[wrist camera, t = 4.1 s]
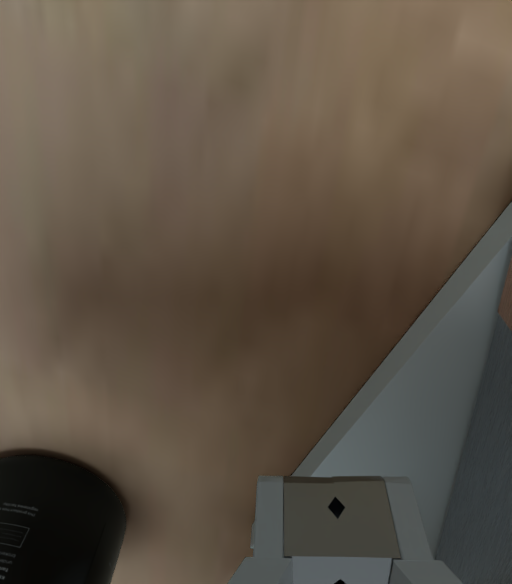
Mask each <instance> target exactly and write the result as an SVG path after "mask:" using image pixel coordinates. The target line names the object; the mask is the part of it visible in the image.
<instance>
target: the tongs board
mask: <svg viewBox="0 0 512 584" xmlns="http://www.w3.org/2000/svg"><path fill="white" fill-rule="evenodd" d="M511 257H512V202H511V203H510V204H509V205H508V207H507V208H506V209H505V210H504V212H503V213H502V214H501V215H500V217H499V218H498V219H497V220H496V222H495V223H494V224H493V225H492V227H491V228H490V229H489V230H488V232H487V233H486V234H485V235H484V236H483V238H482V239H481V240H480V241H479V243H478V244H477V245H476V246H475V248H474V249H473V250H472V251H471V253H470V254H469V255H468V256H467V258H466V259H465V260H464V261H463V263H462V264H461V265H460V266H459V268H458V269H457V270H456V271H455V273H454V274H453V275H452V276H451V278H450V279H449V280H448V281H447V283H446V284H445V285H444V286H443V288H442V289H441V290H440V291H439V292H438V294H437V295H436V296H435V297H434V299H433V300H432V301H431V302H430V304H429V305H428V306H427V307H426V309H425V310H424V311H423V312H422V314H421V315H420V316H419V317H418V319H417V320H416V321H415V322H414V324H413V325H412V326H411V327H410V329H409V330H408V331H407V332H406V334H405V335H404V336H403V337H402V339H401V340H400V341H399V342H398V344H397V345H396V346H395V347H394V348H393V350H392V351H391V352H390V353H389V355H388V356H387V357H386V358H385V360H384V361H383V362H382V363H381V365H380V366H379V367H378V368H377V370H376V371H375V372H374V373H373V375H372V376H371V377H370V378H369V380H368V381H367V382H366V383H365V385H364V386H363V387H362V388H361V390H360V391H359V392H358V393H357V395H356V396H355V397H354V398H353V400H352V401H351V402H350V403H349V404H348V406H347V407H346V408H345V409H344V411H343V412H342V413H341V414H340V416H339V417H338V418H337V419H336V421H335V422H334V423H333V424H332V426H331V427H330V428H329V429H328V431H327V432H326V433H325V434H324V436H323V437H322V438H321V439H320V441H319V442H318V443H317V444H316V446H315V447H314V448H313V449H312V451H311V452H310V453H309V454H308V456H307V457H306V458H305V459H304V460H303V462H302V463H301V464H300V465H299V467H298V468H297V469H296V470H295V472H294V473H293V474H292V475H291V476H301V477H332V476H381V477H399V476H407V477H408V478H409V479H410V480H411V482H412V485H413V489H414V492H415V496H416V499H417V503H418V506H419V510H420V513H421V517H422V520H423V524H424V527H425V531H426V535H427V538H428V542H429V545H430V549H431V552H432V556H433V559H434V560H435V558H436V554H437V550H438V546H439V543H440V539H441V535H442V531H443V527H444V523H445V519H446V516H447V512H448V508H449V504H450V500H451V496H452V492H453V489H454V485H455V481H456V477H457V473H458V469H459V465H460V462H461V458H462V454H463V450H464V446H465V442H466V438H467V435H468V431H469V427H470V423H471V419H472V415H473V412H474V408H475V404H476V400H477V396H478V392H479V388H480V385H481V381H482V377H483V373H484V369H485V365H486V361H487V358H488V354H489V350H490V346H491V342H492V338H493V334H494V331H495V327H496V323H497V319H498V315H499V313H498V312H497V311H498V307H499V304H500V300H501V296H502V292H503V288H504V284H505V280H506V276H507V272H508V269H509V265H510V261H511ZM254 529H255V521H254V523H253V524H252V530H251V544H250V548H252V549H253V548H254Z"/></svg>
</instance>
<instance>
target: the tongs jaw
mask: <svg viewBox="0 0 512 584" xmlns="http://www.w3.org/2000/svg"><path fill="white" fill-rule="evenodd" d="M497 312H498V313H499V315H498V319H497V323H496V327H495V331H494V334H493V338H492V342H491V346H490V350H489V354H488V358H487V361H486V365H485V369H484V373H483V377H482V381H481V385H480V388H479V392H478V396H477V400H476V404H475V408H474V412H473V415H472V419H471V423H470V427H469V431H468V435H467V438H466V442H465V446H464V450H463V454H462V458H461V462H460V465H459V469H458V473H457V477H456V481H455V485H454V489H453V492H452V496H451V500H450V504H449V508H448V512H447V516H446V519H445V523H444V527H443V531H442V535H441V539H440V543H439V546H438V550H437V554H436V558H435V560H441V561H443V562H444V563H445V564H446V565H447V566H448V568H449V569H450V570H451V571H452V572H453V573H454V574H455V575H456V576H457V577H458V578H459V579H460V581H461V582H462V583H463V584H512V257H511V261H510V265H509V269H508V272H507V276H506V280H505V284H504V288H503V292H502V296H501V300H500V304H499V307H498V311H497Z"/></svg>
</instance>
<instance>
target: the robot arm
mask: <svg viewBox="0 0 512 584" xmlns="http://www.w3.org/2000/svg"><path fill="white" fill-rule="evenodd" d="M227 584H463V583H462V582H461V581H460V579H459V578H458V577H457V576H456V575H455V574H454V573H453V572H452V571H451V570H450V569H449V568H448V566H447V565H446V564H445V563H444V562H443V561H441V560H434V559H433V556H432V552H431V549H430V545H429V542H428V538H427V535H426V531H425V527H424V524H423V520H422V517H421V513H420V510H419V506H418V503H417V499H416V496H415V492H414V489H413V485H412V482H411V480H410V479H409V478H408V477H407V476H399V477H381V476H332V477H301V476H284V480H283V476H258V481H257V492H256V511H255V529H254V548H253V557H245V558H244V560H243V561H242V563H241V564H240V566H239V567H238V569H237V570H236V572H235V573H234V574H233V576H232V577H231V579H230V580H229V582H228V583H227Z"/></svg>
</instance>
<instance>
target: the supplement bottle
mask: <svg viewBox="0 0 512 584" xmlns="http://www.w3.org/2000/svg"><path fill="white" fill-rule="evenodd" d="M125 530H126V516H125V512H124V508H123V506H122V504H121V502H120V500H119V498H118V497H117V495H116V494H115V492H114V491H113V490H112V489H111V488H110V487H109V486H108V485H107V484H106V483H105V482H104V481H103V480H101V479H100V478H98V477H97V476H96V475H94V474H92V473H91V472H89V471H87V470H85V469H83V468H81V467H79V466H77V465H74V464H72V463H69V462H66V461H63V460H59V459H55V458H50V457H44V456H35V455H19V456H11V457H5V458H1V459H0V584H110V583H111V580H112V577H113V573H114V570H115V567H116V563H117V560H118V557H119V553H120V549H121V546H122V542H123V539H124V535H125Z"/></svg>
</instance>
